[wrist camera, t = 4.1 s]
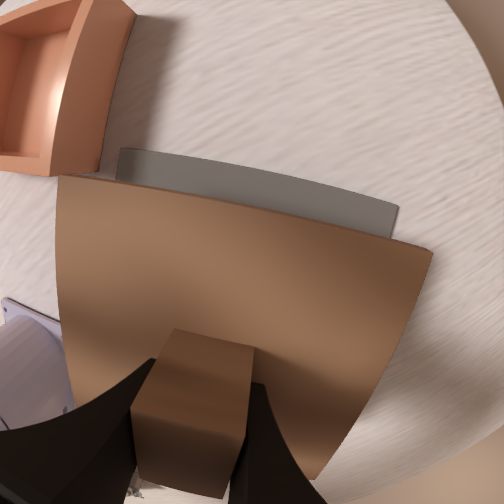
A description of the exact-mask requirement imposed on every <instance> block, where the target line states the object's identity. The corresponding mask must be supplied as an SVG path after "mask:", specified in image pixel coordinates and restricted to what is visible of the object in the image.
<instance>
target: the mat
mask: <svg viewBox="0 0 504 504" xmlns="http://www.w3.org/2000/svg"><path fill="white" fill-rule="evenodd" d="M116 181H122V182H128V183H135V184H141V185H147V186H153V187H159V188H164V189H170V190H176V191H181V192H187V193H192V194H197V195H203V196H208V197H213V198H218V199H223V200H228V201H233V202H238V203H243V204H248V205H252V206H257V207H262V208H266V209H271V210H276V211H280V212H285V213H289V214H293V215H298V216H302V217H306V218H311V219H315V220H319V221H323V222H328V223H332V224H336V225H340V226H344V227H348V228H352V229H356V230H360V231H364V232H368V233H371V234H375V235H379V236H383V237H387V238H389V237H390V234H391V230H392V227H393V223H394V219H395V216H396V212H397V208H398V205H395V204H392V203H389V202H386V201H382V200H379V199H376V198H372V197H369V196H365V195H362V194H358V193H355V192H351V191H347V190H344V189H340V188H336V187H332V186H328V185H325V184H321V183H317V182H313V181H308V180H304V179H300V178H296V177H292V176H287V175H283V174H278V173H274V172H269V171H264V170H260V169H255V168H250V167H245V166H240V165H234V164H229V163H224V162H218V161H212V160H207V159H201V158H194V157H188V156H182V155H175V154H168V153H161V152H153V151H146V150H137V149H129V148H120V153H119V160H118V166H117V173H116Z"/></svg>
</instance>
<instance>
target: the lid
mask: <svg viewBox="0 0 504 504" xmlns="http://www.w3.org/2000/svg"><path fill="white" fill-rule="evenodd" d="M432 256H433V252H431V251H429V250H428V249H426V248H423V247H419V246H416V245H412V244H409V243H405V242H401V241H398V240H394V239H390V238H387V237H383V236H379V235H375V234H371V233H368V232H364V231H360V230H356V229H352V228H348V227H344V226H340V225H336V224H332V223H328V222H323V221H319V220H315V219H311V218H306V217H302V216H298V215H293V214H289V213H285V212H280V211H276V210H271V209H266V208H262V207H257V206H252V205H248V204H243V203H238V202H233V201H228V200H223V199H218V198H213V197H208V196H203V195H197V194H192V193H187V192H181V191H176V190H170V189H164V188H159V187H153V186H147V185H141V184H135V183H128V182H122V181H116V180H109V179H103V178H96V177H89V176H82V175H74V174H61V175H59V177H58V189H57V203H56V227H55V257H56V281H57V296H58V307H59V316H60V325H61V332H62V339H63V346H64V352H65V358H66V363H67V368H68V373H69V378H70V383H71V387H72V392H73V396H74V400H75V404H76V408H78V407H80V406H82V405H84V404H86V403H88V402H89V401H91V400H93V399H94V398H96V397H98V396H99V395H101V394H102V393H104V392H106V391H107V390H109V389H110V388H112V387H113V386H115V385H116V384H117V383H119V382H120V381H121V380H123V379H124V378H126V377H127V376H128V375H129V374H131V373H132V372H133V371H135V370H136V369H137V368H138V367H140V366H141V365H142V364H143V363H144V362H146V361H147V360H148V359H150V358H154V359H157V360H156V361H155V363H154V365H153V367H152V369H151V370H150V372H149V374H148V376H147V378H146V379H145V381H144V383H143V385H142V387H141V389H140V390H139V392H138V394H137V396H136V398H135V400H134V401H133V403H132V405H131V407H130V410H131V421H132V430H133V438H134V446H135V453H136V460H137V466H138V472H139V478H140V479H143V480H146V481H149V482H152V483H155V484H159V485H162V486H166V487H169V488H173V489H177V490H181V491H185V492H189V493H193V494H197V495H202V496H207V497H212V498H217V499H223V496H224V494H225V491H226V488H227V486H228V483H229V480H230V478H231V475H232V472H233V469H234V467H235V464H236V461H237V458H238V455H239V453H240V450H241V447H242V444H243V441H244V438H245V432H246V423H247V414H248V404H249V395H250V385H251V382H255V383H260V384H264V385H265V386H266V390H267V394H268V398H269V402H270V405H271V408H272V411H273V414H274V416H275V419H276V422H277V424H278V426H279V429H280V431H281V434H282V436H283V438H284V440H285V442H286V444H287V446H288V448H289V450H290V452H291V454H292V455H293V457H294V459H295V461H296V462H297V464H298V466H299V467H300V469H301V470H302V472H303V473H304V475H305V476H306V478H307V479H308V480H315V479H316V478H317V476H318V475H319V474H320V472H321V471H322V470H323V468H324V467H325V466H326V464H327V463H328V462H329V460H330V459H331V458H332V456H333V455H334V453H335V452H336V450H337V449H338V448H339V446H340V445H341V443H342V442H343V440H344V439H345V437H346V436H347V434H348V433H349V431H350V430H351V428H352V426H353V425H354V423H355V422H356V420H357V419H358V417H359V415H360V414H361V412H362V410H363V409H364V407H365V405H366V404H367V402H368V400H369V398H370V397H371V395H372V393H373V391H374V390H375V388H376V386H377V384H378V382H379V380H380V379H381V377H382V375H383V373H384V371H385V369H386V367H387V365H388V363H389V361H390V359H391V357H392V355H393V353H394V351H395V349H396V347H397V345H398V343H399V340H400V338H401V336H402V334H403V332H404V329H405V327H406V325H407V323H408V320H409V318H410V315H411V313H412V311H413V308H414V306H415V303H416V301H417V298H418V296H419V293H420V290H421V288H422V285H423V282H424V280H425V277H426V274H427V271H428V268H429V265H430V262H431V259H432Z"/></svg>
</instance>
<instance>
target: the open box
mask: <svg viewBox="0 0 504 504" xmlns="http://www.w3.org/2000/svg"><path fill="white" fill-rule="evenodd" d="M136 15H137V14H136V13H135V12H134V11H133V10H132V9H131V8H130V7H129V6H128V5H126V4H125V3H124V2H123V1H122V0H38V1H36V2H33V3H30V4H28V5H25V6H23V7H21V8H18V9H16V10H14V11H11V12H9V13H7V14H5V15H3V16H1V17H0V171H7V172H16V173H24V174H32V175H39V176H47V177H51V176H59V175H61V174H77V173H87V172H98V171H99V163H100V156H101V150H102V144H103V138H104V132H105V127H106V122H107V117H108V112H109V108H110V103H111V99H112V94H113V90H114V86H115V82H116V78H117V75H118V71H119V67H120V64H121V60H122V57H123V54H124V51H125V47H126V44H127V41H128V38H129V35H130V32H131V29H132V26H133V24H134V21H135V18H136Z"/></svg>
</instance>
